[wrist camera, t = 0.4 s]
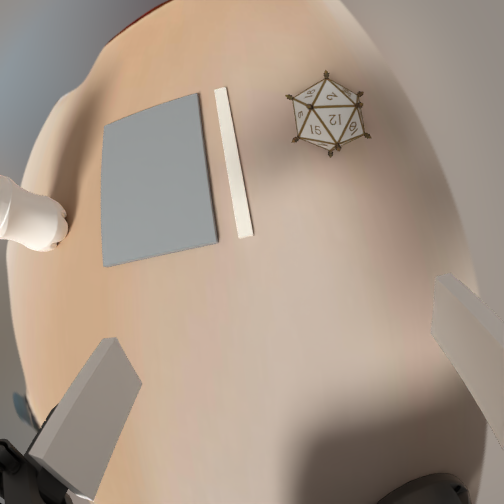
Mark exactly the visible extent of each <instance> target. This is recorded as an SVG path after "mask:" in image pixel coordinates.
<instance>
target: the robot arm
mask: <svg viewBox="0 0 504 504" xmlns="http://www.w3.org/2000/svg"><path fill="white" fill-rule="evenodd" d="M431 335H432V336H433V337H434V339H435V340H436V342H437V343H438V344H439V346H440V347H441V349H442V350H443V352H444V353H445V355H446V356H447V358H448V359H449V360H450V362H451V363H452V365H453V366H454V368H455V369H456V371H457V373H458V374H459V376H460V377H461V379H462V380H463V382H464V383H465V385H466V387H467V388H468V390H469V391H470V393H471V395H472V396H473V398H474V399H475V401H476V403H477V404H478V406H479V408H480V409H481V411H482V413H483V415H484V416H485V418H486V420H487V422H488V423H489V425H490V427H491V429H492V430H493V432H494V434H495V436H496V438H497V440H498V442H499V444H500V445H501V447H502V449H503V450H504V322H503V320H502V319H501V318H499V317H498V316H497V315H496V314H495V313H494V312H493V311H492V310H491V309H490V308H489V307H488V306H487V305H486V304H485V303H484V302H483V301H482V300H481V299H480V298H479V297H477V296H476V295H475V294H474V293H473V292H472V291H471V290H470V289H469V288H468V287H466V286H465V285H464V284H463V283H462V282H461V281H460V280H458V279H457V278H456V277H455V276H454V275H453V274H452V273H447V274H444V275H440V276H437V277H435V288H434V304H433V315H432V325H431ZM141 386H142V382H141V380H140V379H139V377H138V375H137V374H136V372H135V370H134V368H133V367H132V365H131V363H130V361H129V360H128V358H127V356H126V354H125V353H124V351H123V349H122V347H121V345H120V343H119V341H118V339H117V338H116V337H115V338H104V339H102V341H101V342H100V344H99V345H98V346H97V348H96V349H95V351H94V352H93V353H92V355H91V356H90V358H89V359H88V361H87V362H86V364H85V365H84V366H83V368H82V369H81V371H80V372H79V374H78V375H77V377H76V378H75V380H74V381H73V383H72V384H71V386H70V387H69V389H68V390H67V392H66V393H65V395H64V396H63V398H62V399H61V401H60V402H59V404H58V405H56V406H55V407H54V408H53V409H52V410H51V412H50V413H49V415H48V417H47V418H46V421H44V423H43V425H42V426H41V427H42V428H40V429H39V431H38V433H37V435H36V436H35V438H34V439H33V441H32V443H31V444H30V446H29V448H28V450H27V451H26V453H25V454H24V456H23V455H22V454H21V453H20V452H19V451H18V450H17V449H16V448H15V447H14V446H13V445H12V444H11V443H10V442H9V441H8V440H7V439H0V497H2V498H3V499H4V500H5V504H73V503H72V500H71V498H70V496H69V495H68V494H67V493H66V492H67V490H68V489H70V490H71V491H72V492H73V493H75V494H76V495H77V496H79V497H82V498H85V499H88V500H91V501H94V498H95V495H96V493H97V490H98V488H99V485H100V483H101V480H102V477H103V475H104V472H105V470H106V467H107V465H108V462H109V460H110V458H111V455H112V453H113V450H114V448H115V445H116V443H117V441H118V438H119V436H120V434H121V431H122V429H123V427H124V424H125V422H126V420H127V417H128V415H129V413H130V410H131V408H132V406H133V404H134V401H135V399H136V397H137V394H138V392H139V390H140V388H141ZM0 504H1V503H0ZM377 504H471V500H470V495H469V491H468V489H467V487H466V486H465V485H464V484H463V483H462V481H461V480H460V479H459V478H457V477H456V476H454V475H451V474H433V475H428V476H425V477H422V478H419V479H416V480H414V481H411V482H409V483H407V484H405V485H403V486H401V487H400V488H398V489H396V490H394V491H393V492H391V493H390V494H388V495H387V496H386V497H384V498H383V499H382V500H381V501H379V502H378V503H377Z"/></svg>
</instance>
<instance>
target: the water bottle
mask: <svg viewBox="0 0 504 504" xmlns="http://www.w3.org/2000/svg"><path fill="white" fill-rule="evenodd" d="M66 216H67V215H66V211H65V210H64V208H63V207H62V206H61V205H60V204H59V203H58V202H57V201H55V200H54V199H52V198H50V197H48V196H43V195H37V194H34V193H31V192H28V191H26V190H25V189H23V188H21V187H20V186H18V185H17V184H16V183H15V182H13V180H12V179H11V178H9V177H6V176H2V175H0V239H8V240H13V241H16V242H19V243H21V244H23V245H24V246H26V247H27V248H29V249H32V250H36V251H50V250H53V249H55V248H56V247H57V242H60V241H62V240H63V239H64V238H65V237H66V235H67V232H68V224H67V222H66V220H65V219H64V218H65V217H66Z"/></svg>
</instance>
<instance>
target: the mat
mask: <svg viewBox="0 0 504 504" xmlns="http://www.w3.org/2000/svg"><path fill="white" fill-rule="evenodd" d="M101 233H102V253H103V266H104V267H111V266H115V265H120V264H124V263H129V262H133V261H138V260H142V259H147V258H151V257H156V256H160V255H165V254H169V253H174V252H179V251H183V250H188V249H193V248H197V247H202V246H207V245H212V244H216V243H218V238H217V231H216V225H215V218H214V211H213V204H212V197H211V190H210V183H209V176H208V169H207V161H206V153H205V146H204V138H203V130H202V122H201V113H200V105H199V96H198V94H197V93H195V94H192V95H189V96H185V97H182V98H179V99H176V100H172V101H169V102H166V103H163V104H160V105H157V106H155V107H152V108H149V109H146V110H143V111H141V112H138V113H135V114H133V115H130V116H128V117H125V118H123V119H120V120H118V121H115V122H113V123H111V124H108V125H106V126H104V136H103V149H102V169H101Z"/></svg>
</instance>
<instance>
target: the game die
mask: <svg viewBox="0 0 504 504" xmlns="http://www.w3.org/2000/svg"><path fill="white" fill-rule="evenodd" d="M324 77H325V79H323V80H321V81H320V82H318V83H316V84H315V85H313V86H311V87H310V88H308V89H306V90H305V91H303V92H301V93H300V94H298V95H297V96H295V97H292V95H290V94H289V95H285V96H286V97H287V99H289V100H293V107H294V114H295V121H296V128H297V135H298V136H297V137H295V138H293V140H292V142H297V141H298V140H299V139H302V140H304V141H307V142H310V143H312V144H314V145H317V146H319V147H322V148H324V149H327V150H329V152H328V155H329V156H330V158H331V157H332V156H333V152H332V150H334V149H336V150H338V151H340V149H341V146H342V145H344V144H346V143H348V142H350V141H353V140H355V139H357V138H359V137H361V136H363V135H364V136H365V138H367V139H368V138H371V136H370V134H368V133H365V131H364V124H363V118H362V112H361V108H362V106H363V103H361V102H360V101H359V97H361V96H362V95H363V92H360V91H359V93H358V94H355V93H353V92H352V91H350V90H348V89H346V88H345V87H343V86H341V85H339V84H338V83H336V82H334V81H332V80H330V79H329V78H328V77H329V73H328V72H327V71H325V72H324ZM292 142H291V143H292Z"/></svg>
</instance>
